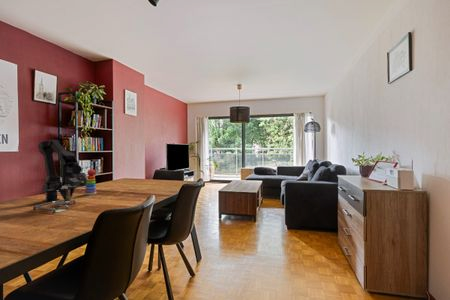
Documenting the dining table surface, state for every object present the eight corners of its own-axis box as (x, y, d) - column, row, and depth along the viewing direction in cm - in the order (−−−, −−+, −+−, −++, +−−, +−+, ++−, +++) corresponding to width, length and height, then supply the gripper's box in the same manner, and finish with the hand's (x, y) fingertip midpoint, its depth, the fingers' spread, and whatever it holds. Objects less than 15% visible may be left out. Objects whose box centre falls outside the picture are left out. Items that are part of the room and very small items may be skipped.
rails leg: (33, 209, 133) (33, 205, 133) (48, 206, 141) (48, 202, 141) (53, 213, 127) (53, 208, 127) (68, 209, 135) (68, 205, 135)
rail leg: (32, 209, 134) (32, 205, 134) (67, 202, 152) (67, 198, 152) (42, 211, 131) (42, 207, 131) (76, 203, 149) (76, 199, 149)
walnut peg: (63, 202, 147) (63, 189, 147) (68, 201, 150) (68, 188, 150) (66, 202, 146) (66, 189, 146) (71, 201, 149) (71, 188, 149)
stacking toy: (91, 195, 172) (91, 169, 172) (81, 195, 174) (81, 169, 173) (99, 193, 180) (99, 168, 180) (89, 193, 181) (89, 168, 181)
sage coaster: (51, 211, 130) (51, 211, 130) (60, 209, 135) (60, 208, 135) (57, 212, 128) (57, 212, 128) (67, 210, 133) (67, 209, 133)
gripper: (61, 175, 136) (61, 203, 136) (90, 172, 154) (90, 196, 154) (48, 174, 140) (48, 201, 140) (78, 171, 158) (77, 195, 158)
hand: (67, 198), depth 148 cm, fingers closed on walnut peg, 3 cm apart
